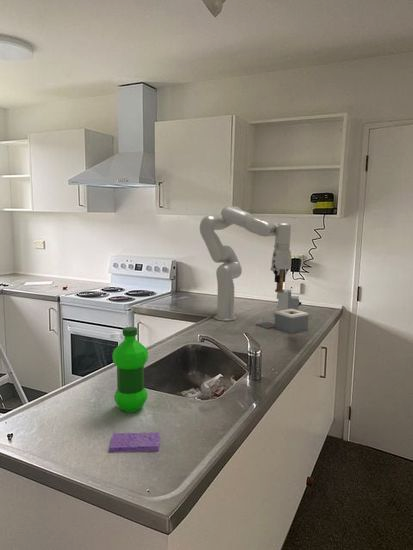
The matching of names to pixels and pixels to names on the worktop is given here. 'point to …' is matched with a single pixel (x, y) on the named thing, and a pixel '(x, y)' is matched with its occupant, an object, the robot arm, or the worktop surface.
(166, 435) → the worktop surface
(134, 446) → the sponges
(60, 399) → the worktop surface
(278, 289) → the wooden pepper mill
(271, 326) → the rubber mat
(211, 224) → the robot arm
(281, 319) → the square socket block
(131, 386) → the plastic bottle
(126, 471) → the worktop surface
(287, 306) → the circuit breaker
